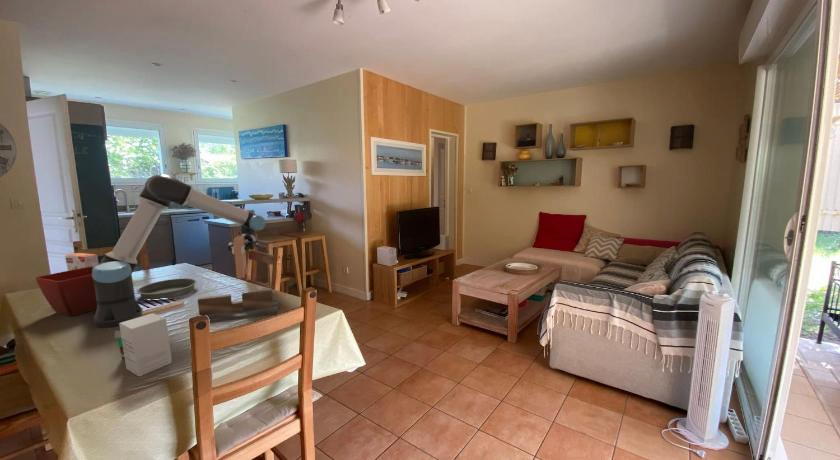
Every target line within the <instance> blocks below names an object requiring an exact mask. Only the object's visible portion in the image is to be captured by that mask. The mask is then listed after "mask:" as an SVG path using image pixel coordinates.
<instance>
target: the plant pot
mask: <svg viewBox="0 0 840 460" xmlns="http://www.w3.org/2000/svg"><path fill="white" fill-rule="evenodd" d="M93 268H94V267H85V268H80V269H75V270H69V271H68V270H65V271H60V272H55V273H51V274H45V275H40V276H36V277H35V281H36V283H37V285H38V287H39V289H40V291H41V292H42V295H43V296H44V298H45V299H46V301H47V302H48V305H50V307H51V308H52V309H53V311H54V312H55V313H56V314H60V315H65V316H68V317H74V316H77V315H80V314H83V313H87V312H92V311H94V310H95V311H96V309H97V300H96V294H95V288H94V281H93V278H92V270H93Z"/></svg>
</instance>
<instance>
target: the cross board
mask: <svg viewBox="0 0 840 460" xmlns="http://www.w3.org/2000/svg"><path fill="white" fill-rule="evenodd" d="M279 304H280V300H274V297H273V289H269V290H268V289H267V290H259V291H249V292H242V293H241V300H240V301H239V300H238V301H232V294H231V293H229V294H221V295H211V296H210V295H209V296H202V297H198V299H197V305H198V311H197V312H196V313H195V314H194V316H193V317H195V316H198V315H207V316H208V317H209V319H210V322H209V323H213V322H223V321H231V320H238V319H245V318H247V319H248V318H257V317H263V316H271V315H277V314H278V309H279V307H280V306H279Z"/></svg>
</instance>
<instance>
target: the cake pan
mask: <svg viewBox="0 0 840 460" xmlns="http://www.w3.org/2000/svg"><path fill="white" fill-rule="evenodd" d="M197 281H198V280H196V279H194V278H188V277H187V278H184V277H183V278H182V277H181V278H173V279H172V278H170V279H164V280H159V281H155V282H152V283H148V284H145V285H143V286H141V287H138V288H137V289H136V293H137V294H140V296H141V298H142V299H145V300H144V301H148V300H147V299H160V298H172V299H176V298H177V299H178V298H180V297H184V296H187V295H189V294H191V293H192V292H194V290H195V285H196V284H197Z"/></svg>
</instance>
